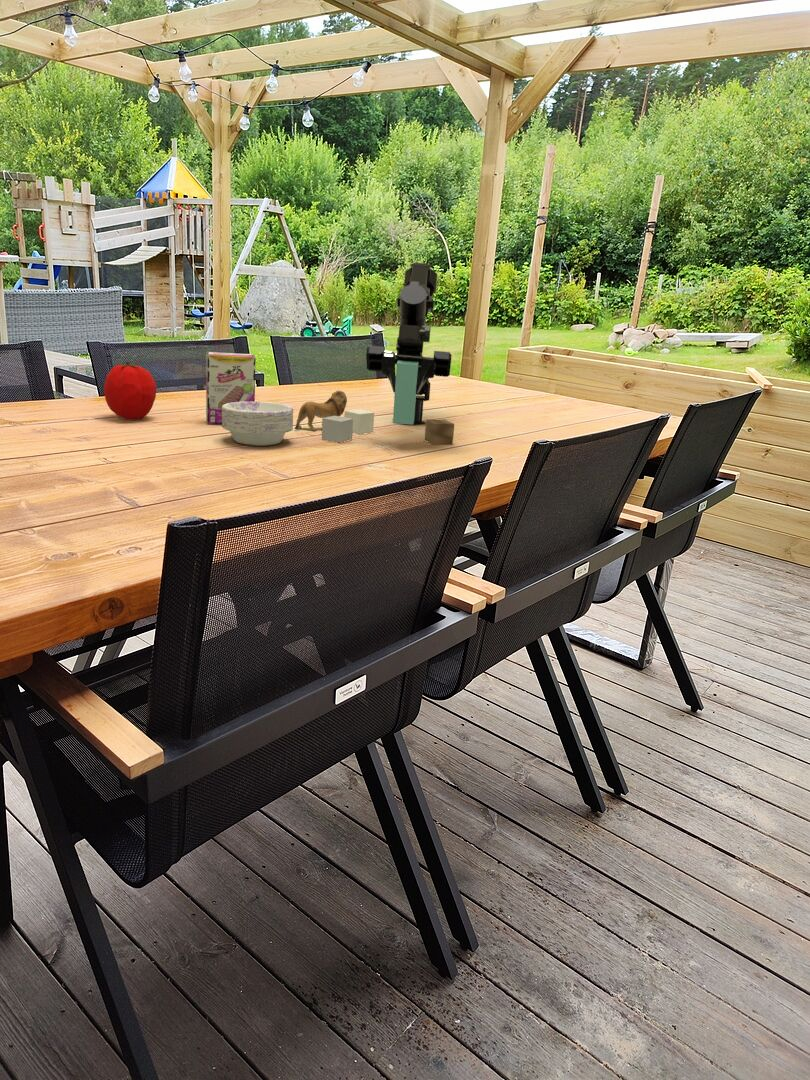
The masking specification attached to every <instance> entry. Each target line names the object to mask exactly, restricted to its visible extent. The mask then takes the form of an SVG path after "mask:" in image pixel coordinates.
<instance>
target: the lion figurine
mask: <svg viewBox="0 0 810 1080" xmlns="http://www.w3.org/2000/svg"><path fill="white" fill-rule="evenodd" d="M347 402H348V398H347V395H346V393H345V392H344V391H342V390H336V391H334V392H332V393H331V396H330V397H329V398H328V399H327V400H326V401H324V402H315V401H312V400H311V401H306V402H305V403H303V404H302V405H301V407H300V409H299V412H298V415H297V419H296V424H295V427H293V429H294V430H297V429H298V430H299V429H302V425H301V422H303V420H305V419H308V420H307V421H308V422H307V426H308V427H309V429H310V430H311V432H312V431H313V432H316V431H317V428H316V427H314V425H313V422H314V419H315V418H316V417H317V418H320V419H322V418H326V417H330V416H340V417H342V415H343V414H344V413H345V411H346V410H345V409H346V407H347Z"/></svg>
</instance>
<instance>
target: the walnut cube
mask: <svg viewBox="0 0 810 1080" xmlns="http://www.w3.org/2000/svg"><path fill="white" fill-rule="evenodd" d="M425 422H426V423H425V429H424V441H425V440H426V442H427V441H428V442H427V443H429V444H430V445H432V446H436V445H438V446H442V445H443V446H445V445H447V446H449V445H450V446H451V445H452V446H453V443H454V431H455V423H453V422H452V421H449V420H448V419H425Z"/></svg>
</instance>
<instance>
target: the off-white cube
mask: <svg viewBox="0 0 810 1080" xmlns="http://www.w3.org/2000/svg"><path fill="white" fill-rule="evenodd" d="M344 417H346V418H351V419H353V428H352V434H353V433H356V434H355V435H357V434H361V435H365V434H364V433H368V434H372V433H371V432H373V433H374V425H375V412H373V411H368V410H365V409H361V408H359V409H358V408H357V409H350V410H344Z"/></svg>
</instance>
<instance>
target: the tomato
mask: <svg viewBox="0 0 810 1080" xmlns="http://www.w3.org/2000/svg"><path fill="white" fill-rule="evenodd" d="M140 363H141V362H136V363H131V364H130V361H126V363H125V364H124V363H119V364H116V365H114V366H113V367H112V368H111V369H110V370H109V372H108V373H107V375H106V378H105V380H104V384H103V387H104V388H103V391H104V392H103V393H104V398H105V402H106V405H107V406H108V408H109V409H110V411H111V412H113V413H114V414H115V415H116V416H117V417H119V418H122V419H125V420H129V419H130V420H131V421H137V420H141V419H143V418H145V417H146V416H147V415H148V414H149V413H150V411H151V410H152V408H153V406H154V403H155V400H156V396H157V391H158V390H157V386H156V381H155V379H154V377H153V376H152V374H151V372H150V371H148V370H147V369H145V368H143V367H141V366H140V365H139V364H140Z"/></svg>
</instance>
